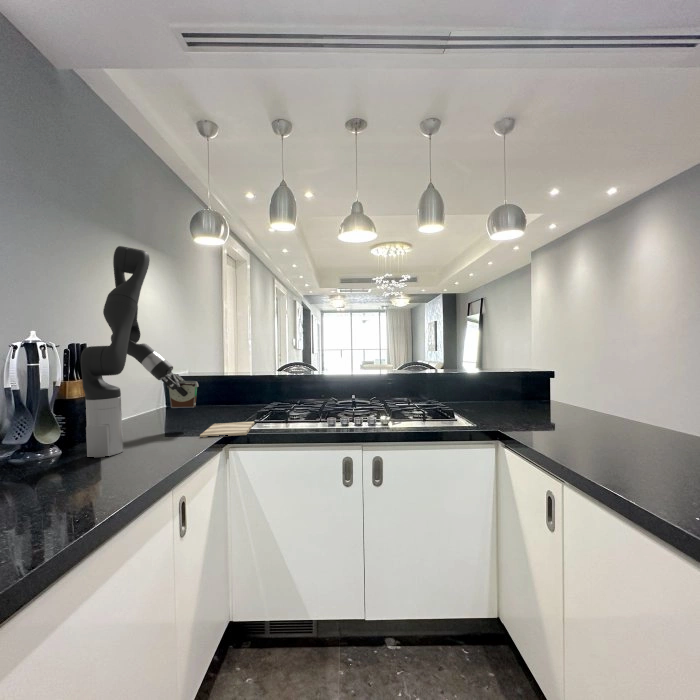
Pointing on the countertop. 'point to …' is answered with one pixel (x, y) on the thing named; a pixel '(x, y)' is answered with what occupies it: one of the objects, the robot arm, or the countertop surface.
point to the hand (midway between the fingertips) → (188, 394)
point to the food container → (189, 399)
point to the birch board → (228, 429)
